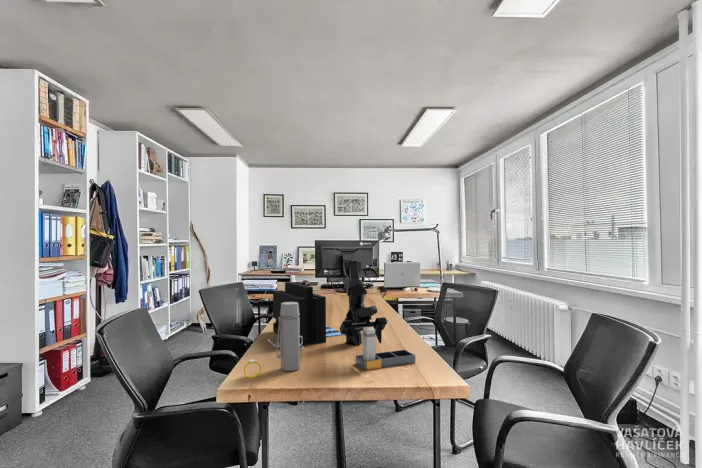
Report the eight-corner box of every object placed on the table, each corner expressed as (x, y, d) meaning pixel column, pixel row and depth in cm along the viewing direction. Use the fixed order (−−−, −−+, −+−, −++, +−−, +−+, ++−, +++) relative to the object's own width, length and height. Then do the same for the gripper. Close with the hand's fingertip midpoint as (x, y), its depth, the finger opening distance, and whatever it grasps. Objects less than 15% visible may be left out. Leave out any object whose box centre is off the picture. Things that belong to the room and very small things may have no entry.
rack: (364, 371, 143) (364, 362, 144) (355, 364, 151) (355, 355, 152) (415, 364, 151) (415, 355, 152) (405, 358, 159) (404, 349, 160)
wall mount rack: (308, 346, 176) (308, 334, 176) (291, 356, 164) (291, 343, 164) (280, 343, 183) (280, 330, 183) (262, 352, 171) (261, 339, 171)
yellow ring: (260, 375, 141) (261, 359, 141) (260, 378, 138) (261, 361, 139) (243, 376, 139) (244, 359, 140) (243, 378, 137) (244, 361, 137)
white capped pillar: (362, 364, 150) (362, 328, 151) (371, 363, 152) (370, 327, 152) (367, 367, 146) (366, 330, 147) (375, 366, 148) (375, 329, 148)
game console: (273, 331, 208) (272, 282, 209) (323, 325, 224) (323, 278, 224) (297, 347, 178) (297, 288, 179) (354, 338, 193) (353, 284, 194)
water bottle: (294, 364, 152) (294, 301, 153) (303, 370, 146) (303, 303, 146) (272, 368, 147) (272, 303, 148) (280, 374, 141) (280, 306, 141)
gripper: (342, 300, 150) (352, 335, 140) (385, 297, 157) (398, 330, 147) (335, 316, 157) (345, 351, 147) (377, 313, 164) (389, 345, 154)
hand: (369, 344), depth 148 cm, fingers open, 9 cm apart
